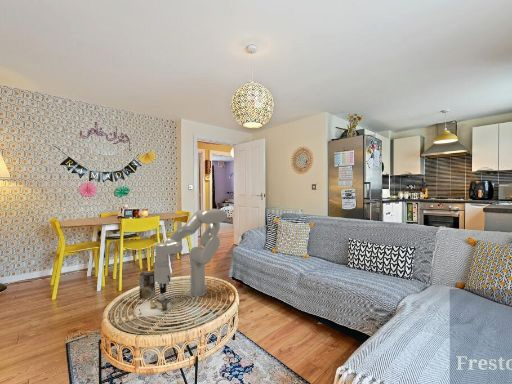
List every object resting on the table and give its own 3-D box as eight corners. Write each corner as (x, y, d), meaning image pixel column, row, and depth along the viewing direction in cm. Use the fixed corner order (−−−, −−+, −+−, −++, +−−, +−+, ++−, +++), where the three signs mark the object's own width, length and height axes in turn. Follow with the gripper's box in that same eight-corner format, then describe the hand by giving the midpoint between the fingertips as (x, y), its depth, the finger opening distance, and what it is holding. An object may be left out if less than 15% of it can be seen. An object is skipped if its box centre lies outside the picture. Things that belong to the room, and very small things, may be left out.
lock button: (162, 299, 153) (162, 293, 153) (166, 301, 151) (166, 294, 151) (157, 302, 150) (157, 295, 150) (161, 303, 148) (161, 297, 148)
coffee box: (155, 294, 164) (155, 270, 164) (154, 299, 158) (154, 274, 158) (140, 296, 161) (140, 272, 161) (139, 300, 155) (139, 275, 155)
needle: (148, 307, 143) (148, 301, 143) (153, 304, 147) (153, 298, 147) (164, 311, 139) (165, 304, 139) (169, 308, 143) (169, 302, 142)
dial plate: (156, 299, 158) (156, 294, 158) (178, 307, 148) (178, 302, 148) (127, 312, 141) (127, 307, 141) (149, 322, 131) (149, 316, 131)
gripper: (149, 263, 151) (149, 292, 151) (165, 267, 143) (166, 298, 144) (159, 259, 157) (160, 288, 158) (175, 263, 150) (176, 293, 150)
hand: (163, 292), depth 151 cm, fingers closed
